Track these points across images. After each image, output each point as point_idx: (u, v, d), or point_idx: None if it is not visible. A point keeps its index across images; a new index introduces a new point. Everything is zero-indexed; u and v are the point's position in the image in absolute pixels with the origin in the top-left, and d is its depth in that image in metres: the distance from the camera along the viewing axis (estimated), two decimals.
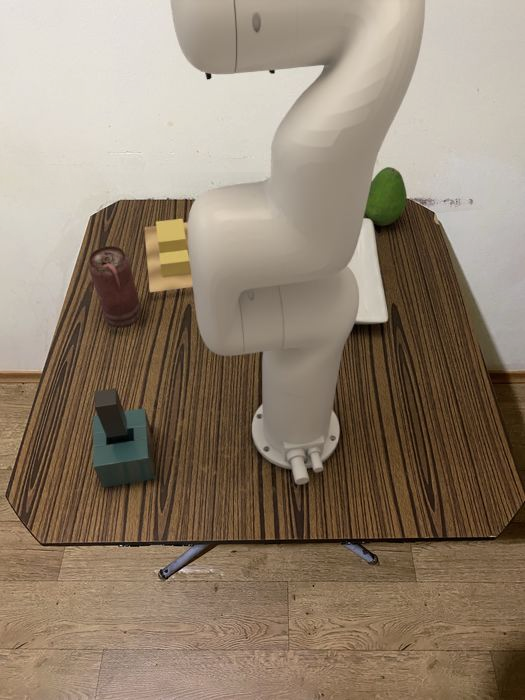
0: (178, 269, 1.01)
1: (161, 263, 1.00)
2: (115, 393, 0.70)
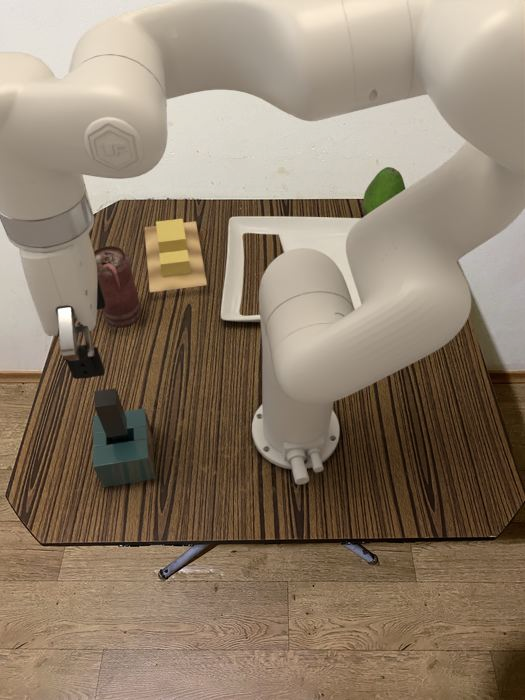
0: (178, 269, 1.01)
1: (161, 263, 1.00)
2: (115, 393, 0.70)
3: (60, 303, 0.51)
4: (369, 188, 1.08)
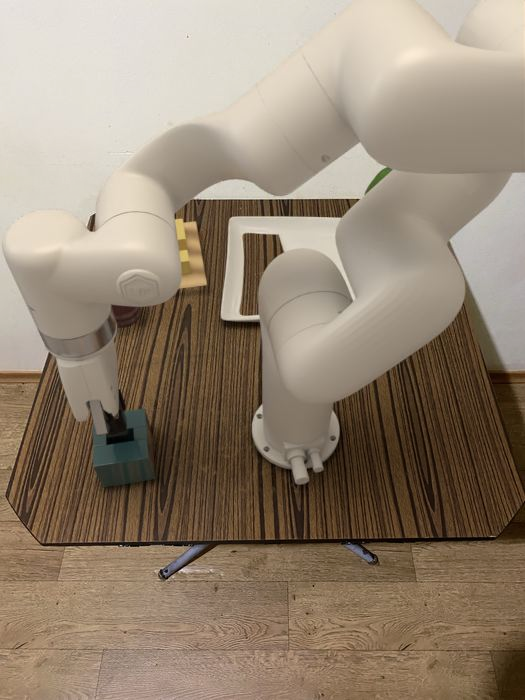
0: None
1: None
2: None
3: (90, 398, 0.61)
4: (369, 188, 1.08)
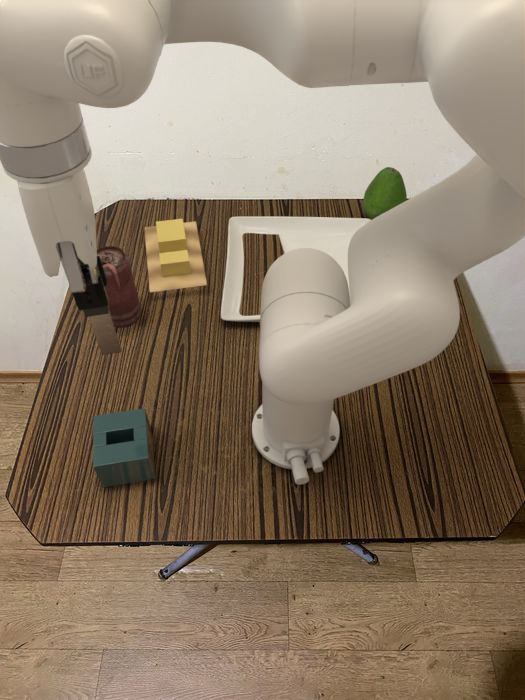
0: (178, 269, 1.01)
1: (161, 263, 1.00)
2: None
3: (60, 238, 0.51)
4: (369, 188, 1.08)
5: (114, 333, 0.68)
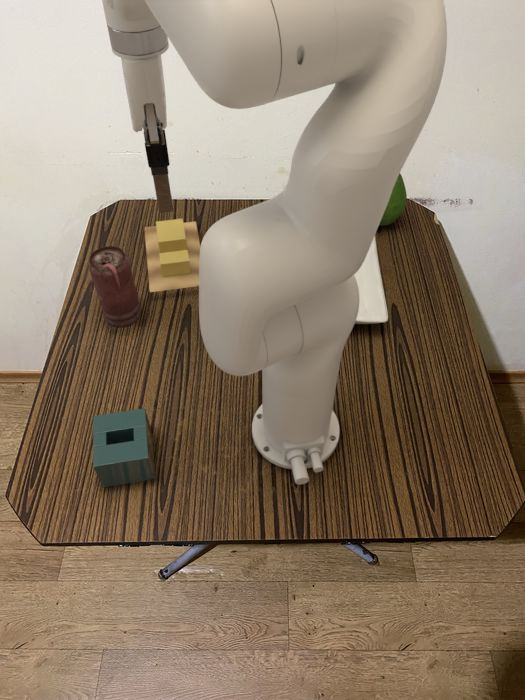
0: (178, 269, 1.01)
1: (161, 263, 1.00)
2: None
3: (147, 100, 0.77)
4: None
5: (169, 194, 0.94)
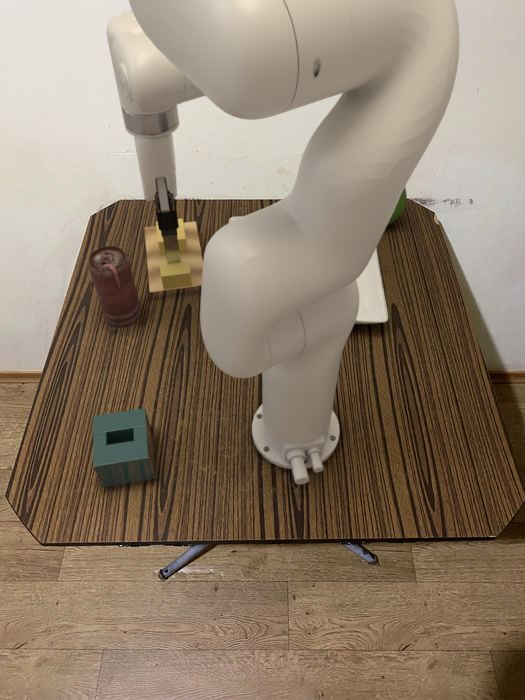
0: (179, 281, 0.99)
1: (162, 275, 0.98)
2: None
3: (158, 174, 0.81)
4: None
5: (178, 251, 0.98)
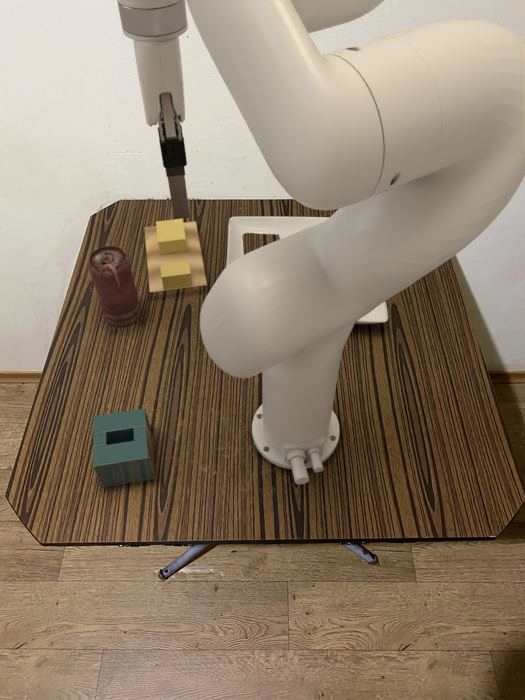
0: (179, 282, 0.99)
1: (162, 276, 0.98)
2: None
3: (163, 89, 0.67)
4: None
5: (186, 197, 0.84)
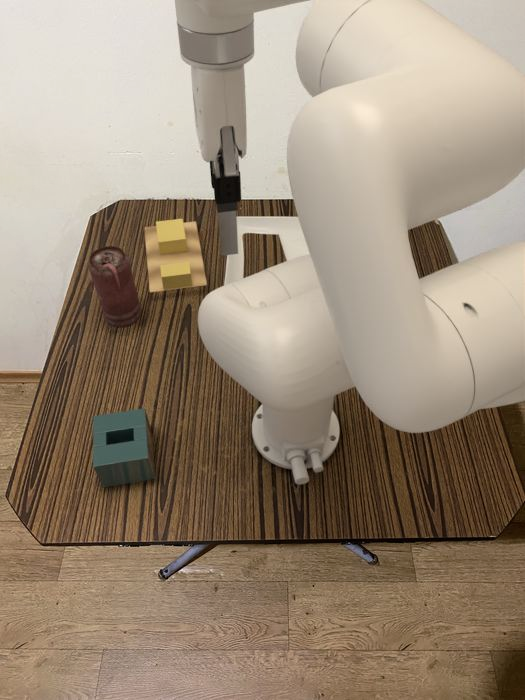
0: (179, 282, 0.99)
1: (162, 276, 0.98)
2: None
3: (225, 123, 0.59)
4: None
5: (236, 233, 0.76)
